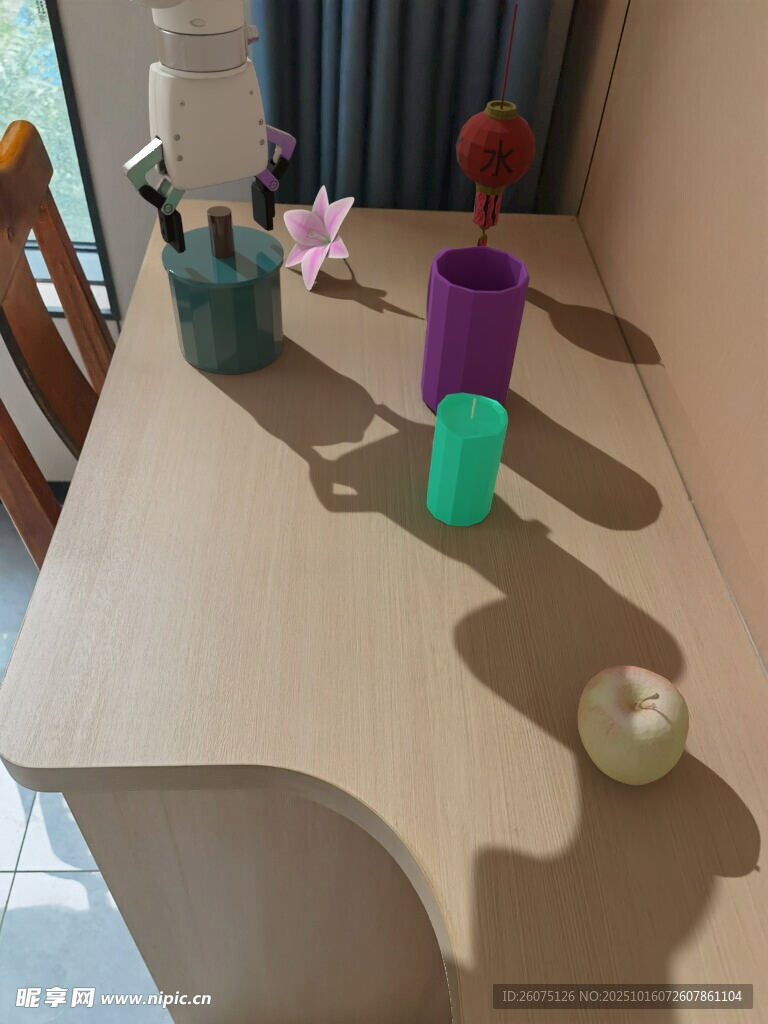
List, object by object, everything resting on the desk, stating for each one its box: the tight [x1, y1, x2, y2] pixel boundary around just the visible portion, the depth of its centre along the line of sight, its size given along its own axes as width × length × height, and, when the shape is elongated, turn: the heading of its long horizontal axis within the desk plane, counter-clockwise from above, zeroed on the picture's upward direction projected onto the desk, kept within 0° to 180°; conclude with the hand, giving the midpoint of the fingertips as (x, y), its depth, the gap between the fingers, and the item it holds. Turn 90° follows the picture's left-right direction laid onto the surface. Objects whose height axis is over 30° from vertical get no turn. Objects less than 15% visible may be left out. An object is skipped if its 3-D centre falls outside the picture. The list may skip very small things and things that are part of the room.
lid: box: [160, 205, 285, 289], centre depth 81 cm, size 12×12×6 cm
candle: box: [426, 393, 509, 527], centre depth 69 cm, size 6×6×12 cm
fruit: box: [577, 665, 690, 786], centre depth 54 cm, size 8×7×8 cm
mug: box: [420, 245, 531, 414], centre depth 82 cm, size 9×16×15 cm, turn 18°
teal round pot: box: [167, 268, 284, 375], centre depth 86 cm, size 11×11×10 cm
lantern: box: [455, 2, 537, 247], centre depth 95 cm, size 10×10×30 cm
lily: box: [283, 185, 355, 291], centre depth 100 cm, size 12×12×10 cm
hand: (220, 236), depth 81 cm, fingers open, 9 cm apart
